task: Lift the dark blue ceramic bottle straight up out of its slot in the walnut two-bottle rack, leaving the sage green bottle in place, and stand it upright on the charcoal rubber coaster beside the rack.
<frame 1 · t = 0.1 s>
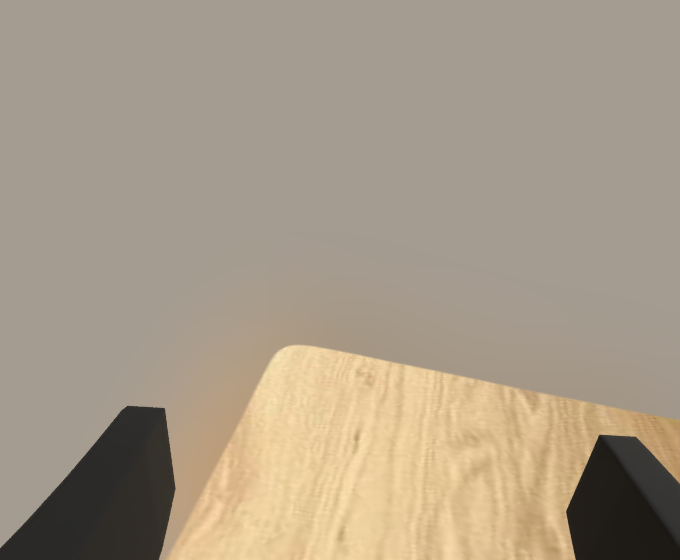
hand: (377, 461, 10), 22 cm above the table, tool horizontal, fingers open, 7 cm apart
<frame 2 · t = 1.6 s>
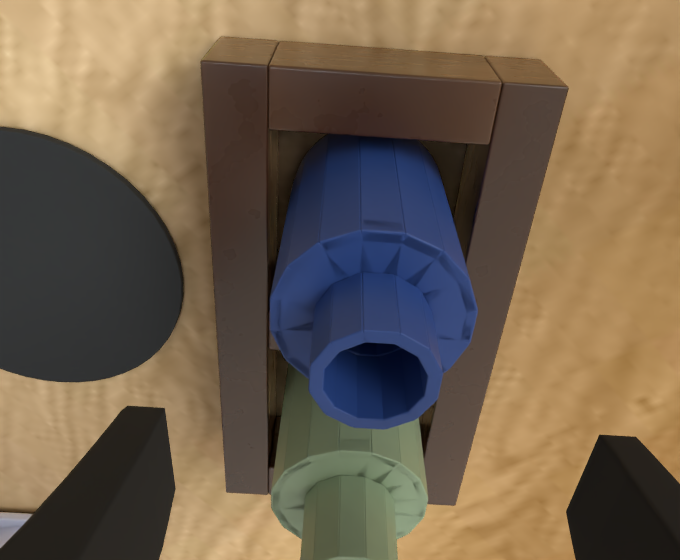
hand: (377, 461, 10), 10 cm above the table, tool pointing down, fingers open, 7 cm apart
bottle rack: (357, 289, 21), on the table
blue bottle: (367, 194, 19), resting in bottle rack
sage bottle: (350, 367, 23), resting in bottle rack
coaster: (36, 268, 21), on the table
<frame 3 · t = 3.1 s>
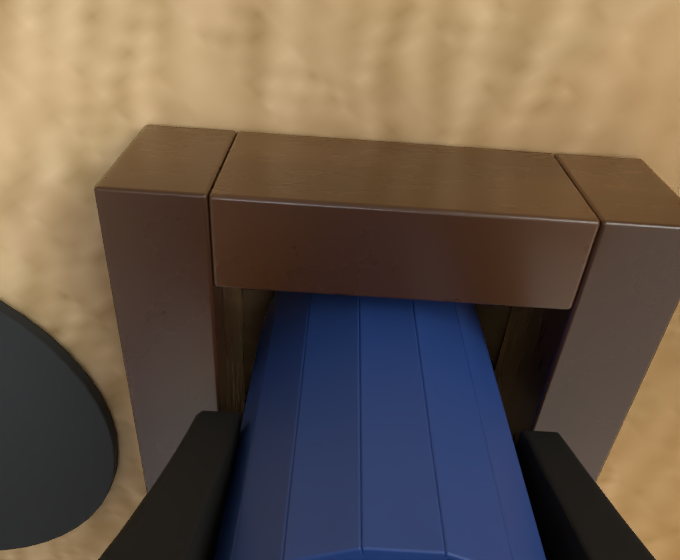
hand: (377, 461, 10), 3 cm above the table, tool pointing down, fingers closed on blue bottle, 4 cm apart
bottle rack: (358, 448, 15), on the table
blue bottle: (370, 335, 13), resting in bottle rack, touching gripper
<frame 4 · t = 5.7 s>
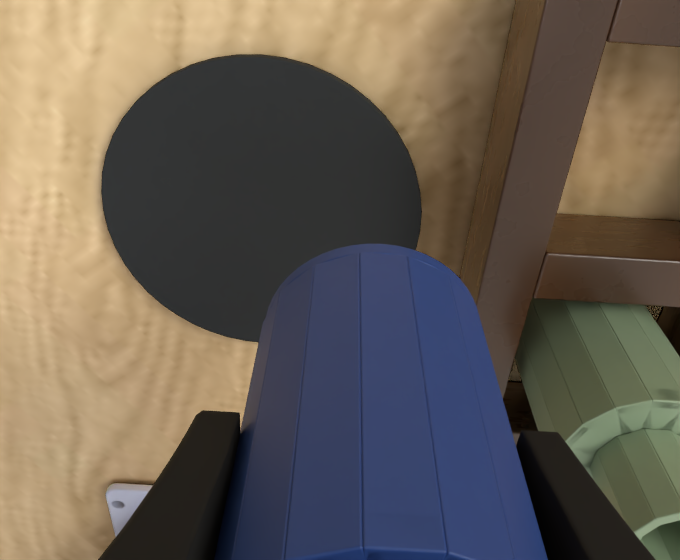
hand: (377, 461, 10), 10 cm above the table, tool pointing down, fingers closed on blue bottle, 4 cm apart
bottle rack: (605, 237, 20), on the table
blue bottle: (371, 334, 13), point 7 cm above the table, touching gripper
sage bottle: (574, 325, 22), resting in bottle rack
coaster: (263, 216, 19), on the table
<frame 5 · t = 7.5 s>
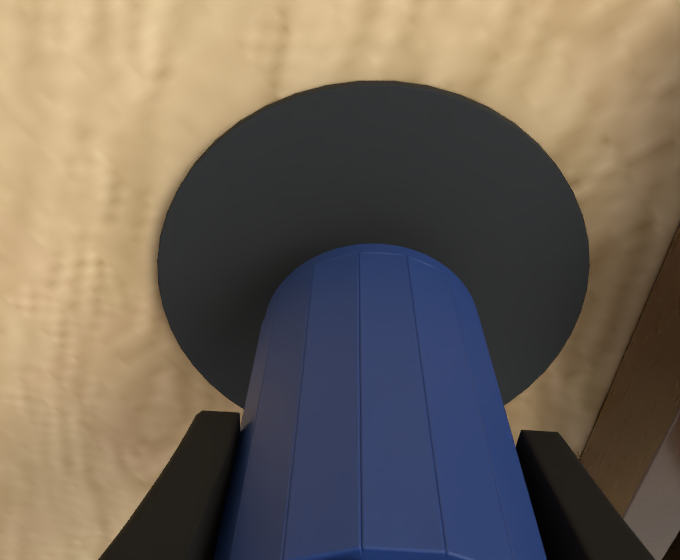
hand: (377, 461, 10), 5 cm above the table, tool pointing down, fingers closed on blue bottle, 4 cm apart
blue bottle: (370, 334, 13), point 2 cm above the table, touching gripper
coaster: (370, 291, 15), on the table
when the fingers open (4 cm above the table, at t = 8.5 s): blue bottle stays where it is, resting on coaster.
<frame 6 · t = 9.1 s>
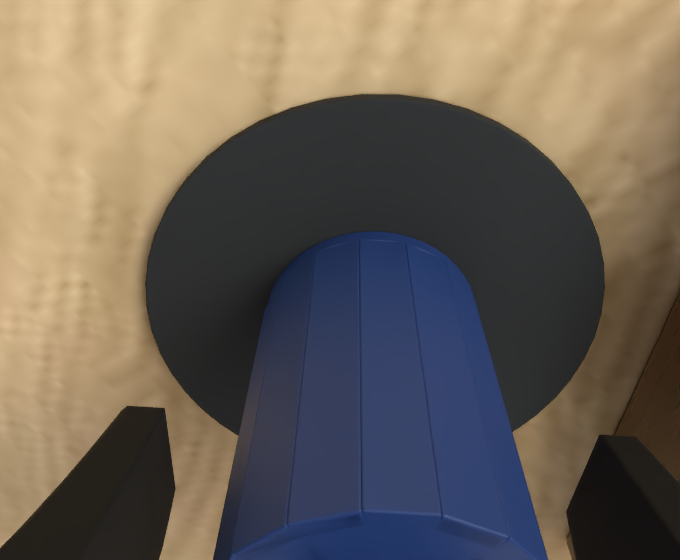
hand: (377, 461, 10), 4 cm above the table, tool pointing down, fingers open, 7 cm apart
blue bottle: (370, 321, 14), resting on coaster
coaster: (371, 314, 14), on the table
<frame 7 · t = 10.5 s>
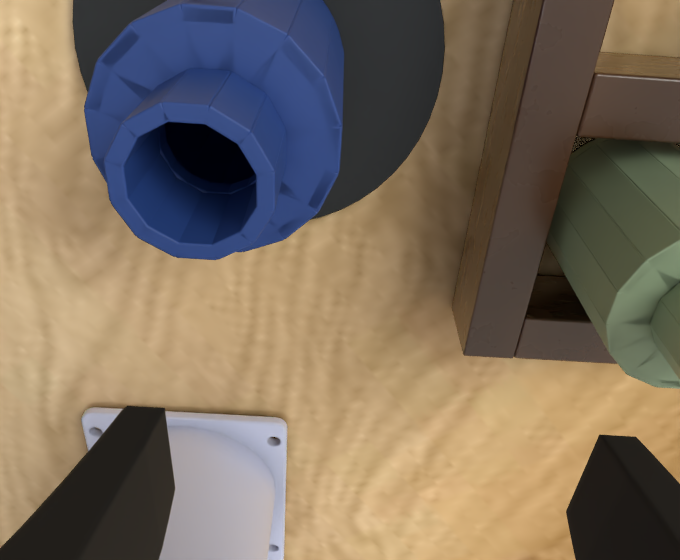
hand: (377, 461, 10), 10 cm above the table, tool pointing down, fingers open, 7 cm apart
bottle rack: (653, 85, 17), on the table
blue bottle: (258, 58, 17), resting on coaster
sage bottle: (613, 201, 19), resting in bottle rack
coaster: (261, 58, 17), on the table
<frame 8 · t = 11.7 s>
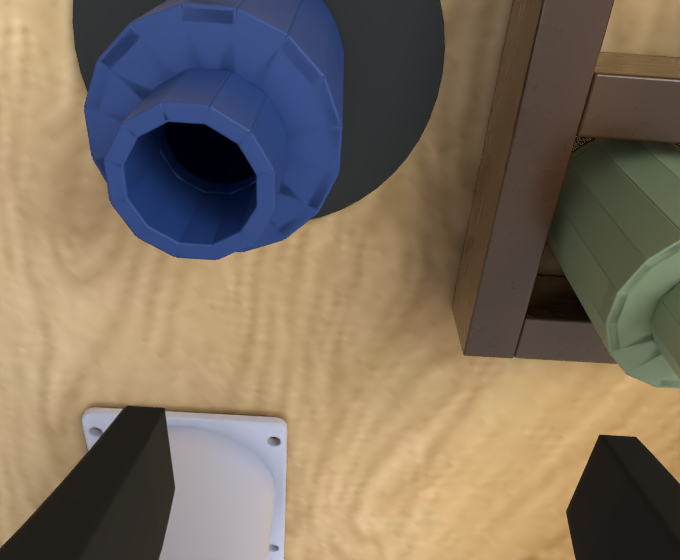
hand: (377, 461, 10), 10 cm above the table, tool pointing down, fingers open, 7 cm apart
bottle rack: (653, 85, 17), on the table
blue bottle: (258, 58, 17), resting on coaster
sage bottle: (613, 201, 19), resting in bottle rack
coaster: (261, 58, 17), on the table
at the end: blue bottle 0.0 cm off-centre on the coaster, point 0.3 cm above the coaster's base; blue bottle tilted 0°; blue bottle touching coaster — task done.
